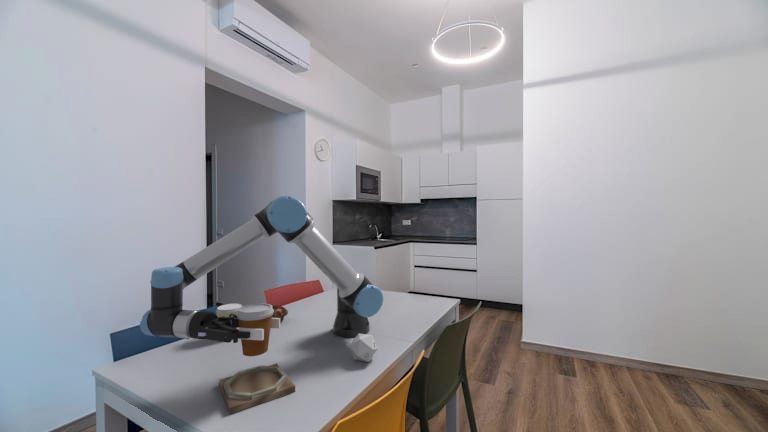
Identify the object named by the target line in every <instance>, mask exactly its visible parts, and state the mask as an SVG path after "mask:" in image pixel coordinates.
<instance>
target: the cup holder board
mask: <svg viewBox="0 0 768 432" xmlns="http://www.w3.org/2000/svg"><path fill="white" fill-rule="evenodd" d="M218 386H219V390H220V392H221V394H222V397H223V399H224V402H225V405H226V408H227V410H228V414H229V415H232V414H235V413H237V412H241V411H243V410H247V409H249V408H251V407H255V406H257V405H260V404H263V403H266V402H269V401H273V400H275V399H278V398H280V397H283V396H285V395H286V396H287V395H289V394H293V393H294V392H296V385H295V383H294V382H293V381H292V380H291V379H290V378H289V376H288V374H287V373H286V372H285V371H284V369H283V368H282V367H281V366H279V364H278V363H273V364H270V365H257V366H254V367H251V368H246V369H242V370H239V371H237V372H236V373H235V374H234V375H230V376H228V377H224V378H220V379H218Z"/></svg>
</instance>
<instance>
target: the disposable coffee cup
mask: <svg viewBox="0 0 768 432" xmlns="http://www.w3.org/2000/svg"><path fill="white" fill-rule="evenodd" d="M242 306H243V307H241V308H239V310H238V313H237V318H238V319H239V327H240V328H256V329H264V340H246V339H240V340H241V347H242V350H241V351H242V356H243V355H244V356H246V357H258V356H261V355H263V354H265V353H267V352H268V348H269V343H270V342H269V341H270V335H271V329H272V328H271V320H272V315H273V312H274V309H273V308H272V306H273V305H272V304H269V303H252V304H246V305H242Z"/></svg>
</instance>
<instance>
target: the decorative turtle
mask: <svg viewBox="0 0 768 432" xmlns="http://www.w3.org/2000/svg"><path fill="white" fill-rule="evenodd" d="M272 308H273V309H274V312H273V315H272V318H280V324H281V323H283V321H284V319H285V317H287V315H288V314H289V310H288V309H287V308H285V306H284V307H283V306H281V305H272Z"/></svg>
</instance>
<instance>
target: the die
mask: <svg viewBox="0 0 768 432" xmlns="http://www.w3.org/2000/svg"><path fill="white" fill-rule="evenodd" d="M349 348H350V351H351V354H352V357H353V359H354V360H355V361H360V362H366V363H370V361H371V360H372V359H373V357H374V355H375V354H376V352H377V351H378V347H377V344H376V341H375V339H374V336H373V335H372V334H367V333H366V334H360V333H358V335H357V336H355V337H354V338H353V340H352V341H351V342H350V344H349Z"/></svg>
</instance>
